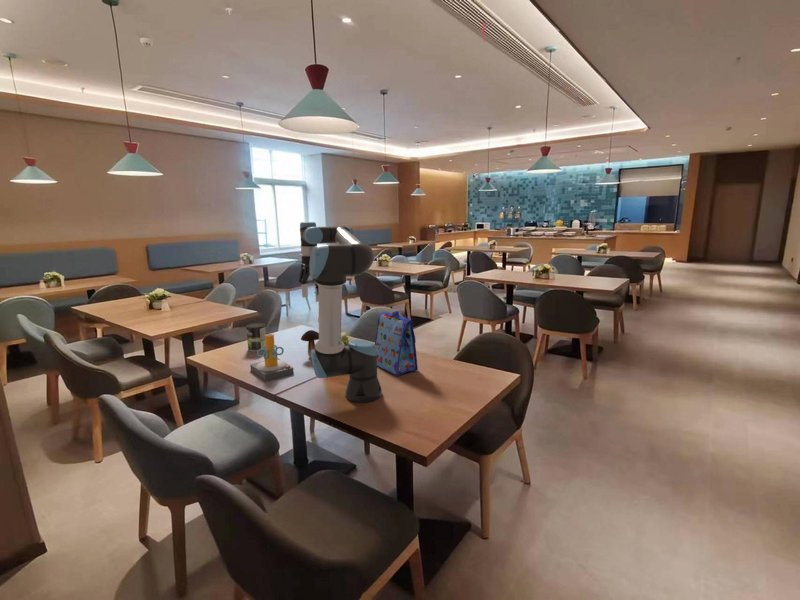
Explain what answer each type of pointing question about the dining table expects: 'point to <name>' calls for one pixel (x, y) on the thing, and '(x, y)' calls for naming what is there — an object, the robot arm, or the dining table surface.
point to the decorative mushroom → (310, 339)
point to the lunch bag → (395, 344)
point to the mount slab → (271, 370)
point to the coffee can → (256, 336)
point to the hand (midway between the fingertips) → (311, 299)
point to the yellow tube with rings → (270, 351)
